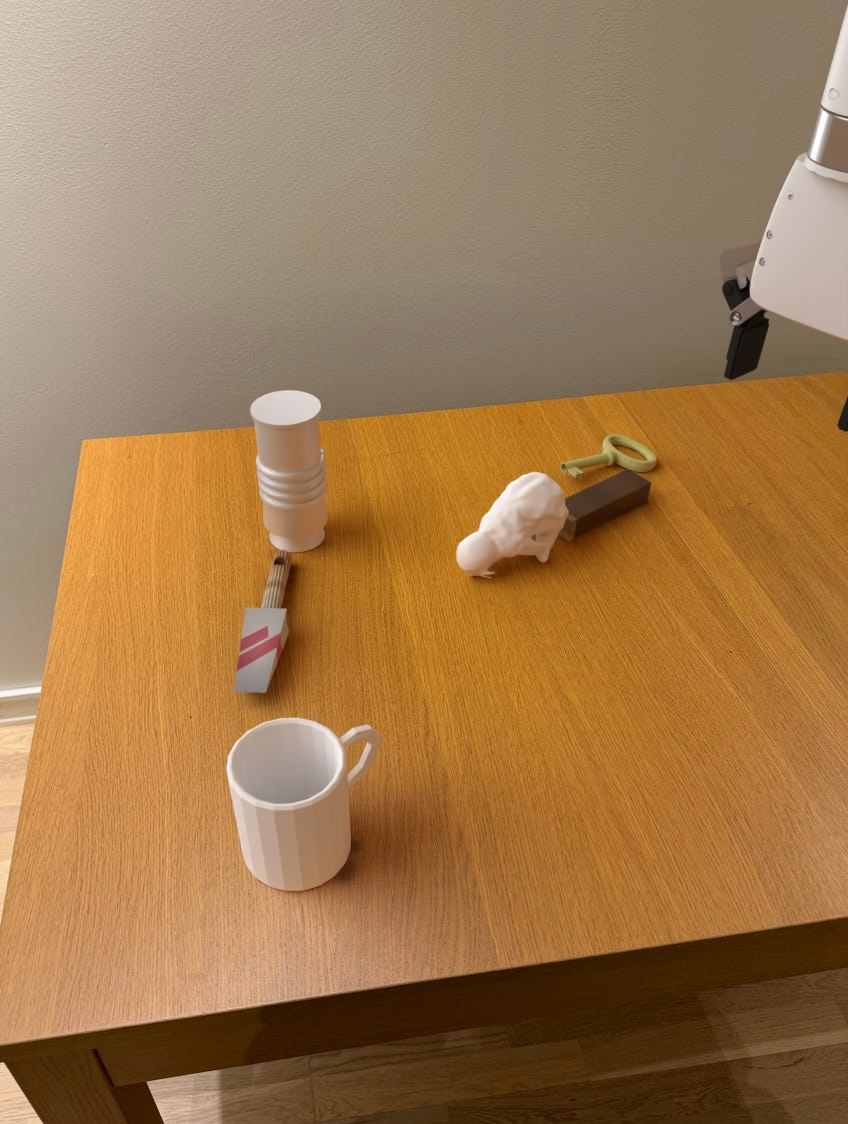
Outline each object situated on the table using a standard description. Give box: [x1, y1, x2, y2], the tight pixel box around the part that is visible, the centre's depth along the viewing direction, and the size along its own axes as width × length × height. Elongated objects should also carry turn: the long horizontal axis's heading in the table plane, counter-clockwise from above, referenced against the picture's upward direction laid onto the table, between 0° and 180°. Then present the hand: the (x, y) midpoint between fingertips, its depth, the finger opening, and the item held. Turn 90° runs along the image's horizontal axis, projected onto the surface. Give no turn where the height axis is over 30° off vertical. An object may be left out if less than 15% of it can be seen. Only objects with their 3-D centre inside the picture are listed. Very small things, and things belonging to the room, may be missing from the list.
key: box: [559, 433, 658, 479], centre depth 105 cm, size 7×12×2 cm, turn 136°
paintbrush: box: [233, 549, 293, 694], centre depth 86 cm, size 4×3×20 cm
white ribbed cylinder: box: [249, 389, 329, 553], centre depth 92 cm, size 7×7×15 cm
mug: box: [225, 717, 384, 892], centre depth 66 cm, size 8×12×10 cm
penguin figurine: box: [455, 471, 569, 579], centre depth 91 cm, size 6×8×12 cm
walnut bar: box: [558, 468, 652, 543], centre depth 98 cm, size 12×4×3 cm, turn 126°
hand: (794, 398), depth 68 cm, fingers open, 9 cm apart
